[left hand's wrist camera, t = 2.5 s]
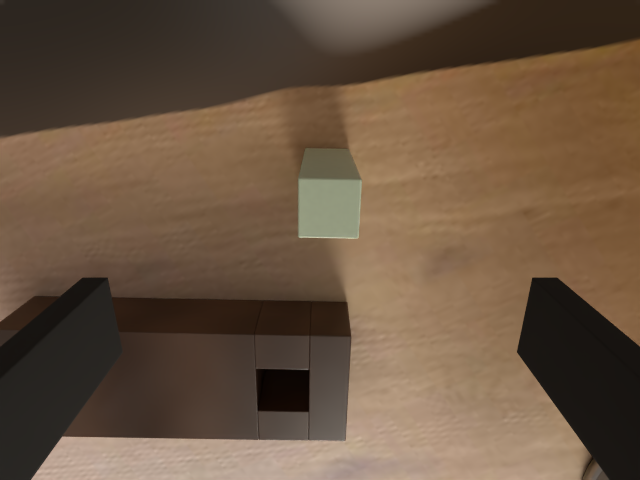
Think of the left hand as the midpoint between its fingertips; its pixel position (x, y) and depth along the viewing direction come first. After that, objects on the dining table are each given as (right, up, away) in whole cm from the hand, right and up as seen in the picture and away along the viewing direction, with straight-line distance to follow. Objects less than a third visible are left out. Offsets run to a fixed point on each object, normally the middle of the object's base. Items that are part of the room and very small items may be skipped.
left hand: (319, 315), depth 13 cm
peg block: (-11, -7, +23) cm, 26 cm away
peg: (0, +8, +17) cm, 19 cm away
